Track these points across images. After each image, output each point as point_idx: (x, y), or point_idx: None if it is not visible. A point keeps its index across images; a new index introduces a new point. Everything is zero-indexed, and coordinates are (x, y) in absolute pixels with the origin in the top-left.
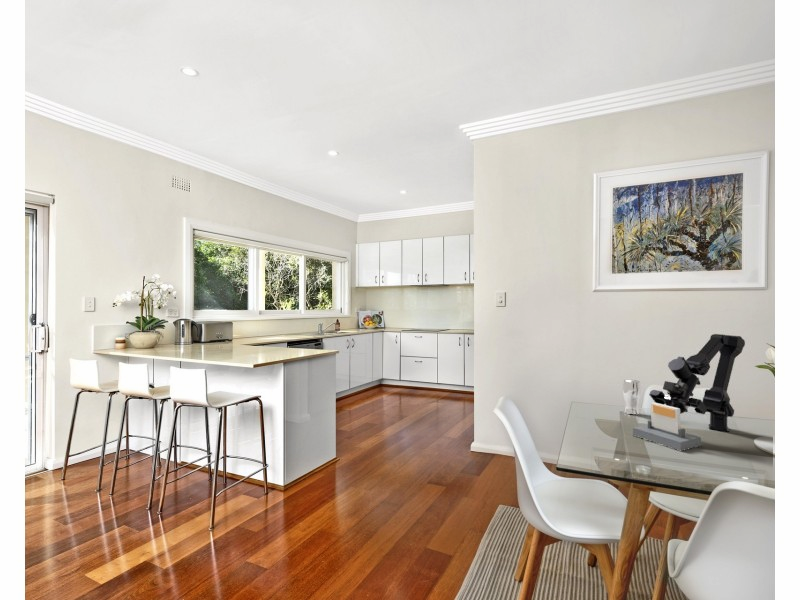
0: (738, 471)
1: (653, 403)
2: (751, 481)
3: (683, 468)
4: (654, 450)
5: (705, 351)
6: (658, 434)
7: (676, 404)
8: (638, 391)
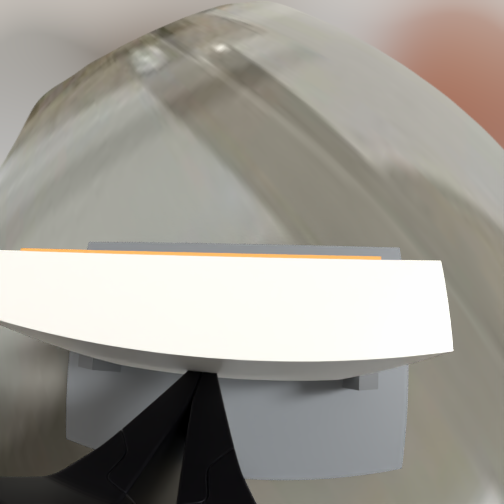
0: None
1: (396, 267)
2: None
3: (73, 130)
4: (187, 172)
5: None
6: None
7: (34, 487)
8: None
